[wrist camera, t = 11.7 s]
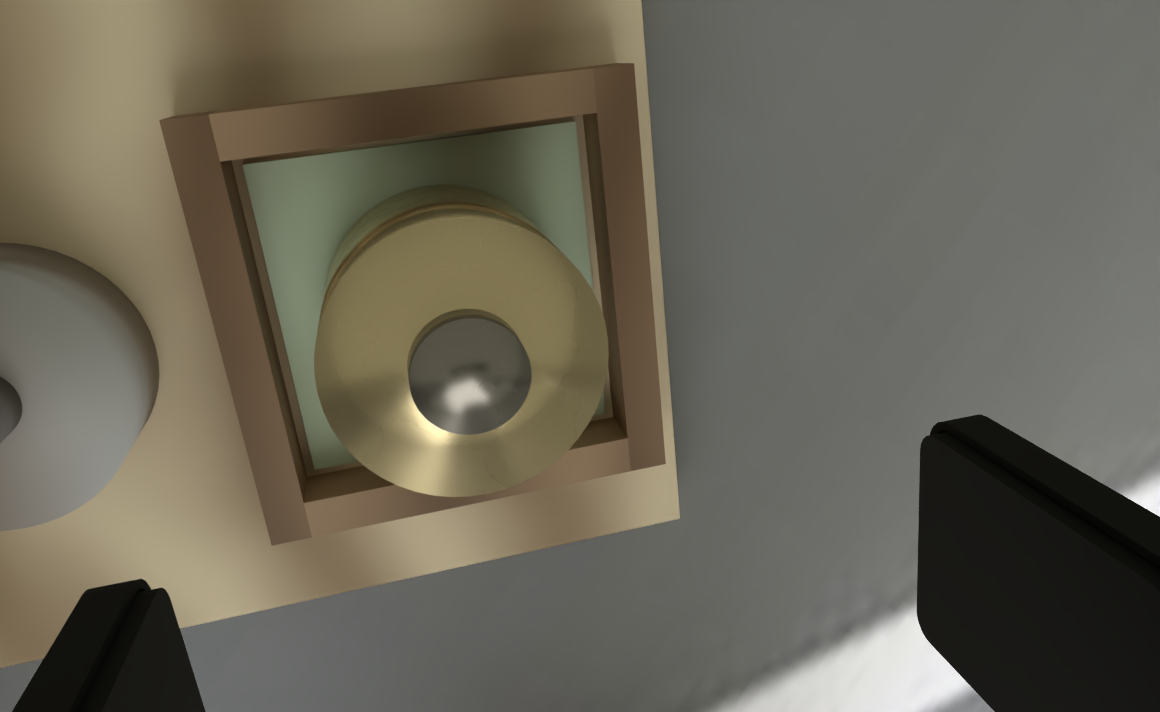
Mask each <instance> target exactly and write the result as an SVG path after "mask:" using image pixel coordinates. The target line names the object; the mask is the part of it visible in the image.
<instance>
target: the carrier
mask: <svg viewBox="0 0 1160 712" xmlns="http://www.w3.org/2000/svg"><path fill="white" fill-rule="evenodd" d="M439 184H446V185H460V186H466V187H471V188H475V189H478V190H481V191H485V192H488V193H490V194H492V195H494V196H496V197H498V198H501V199H503V200H504V201H506V202H507V203H509V204H510V205H512V206H513V207H515V208H516V209H517V210H519V211H520V212H521V213H522V214H523V215H524V216H526V217H527V218H528V219H529V220H530V221H531V222H532V223H533V224H534V225H535V226H536V227H537V228H538V229H539V230H540V231H541V232H542V233H543V234H544V235H545V236H546V237H547V238H548V239H549V240H550V241H551V242H552V243H553V244H554V245H555V246H556V247H557V248H558V249H559V250H560V251H561V252H562V253H563V254H564V255H565V256H566V257H567V258H568V259H569V260H570V261H571V262H572V263H573V264H574V265H575V267H576V268H577V269H578V270H579V271H580V272H581V273H582V275H583V276H584V278H585V279H586V281H587V282H588V284H589V285H590V287H591V288H592V290H593V292H594V294H595V297H596V299H597V301H598V303H599V305H600V308H601V311H602V314H603V317H604V320H605V325H606V331H607V336H608V351H609V359H608V369H607V376H606V381H605V385H604V390H603V393H602V396H601V398H600V401H599V404H598V406H597V409H596V411H595V413H594V414H593V416H592V418H591V420H590V422H589V424H588V425H587V427H586V428H585V430H584V431H583V433H582V434H581V436H580V437H579V438H578V439H577V441H576V442H575V443H574V444H573V445H572V446H571V447H570V449H569V450H568V451H567V452H566V453H565V454H563V455H562V456H561V457H560V458H559V459H558V460H557V461H556V462H555V463H553V464H552V465H550V466H549V467H548V468H546V469H545V470H543V471H542V472H541V473H539V474H537V475H535V476H534V477H532V478H530V479H528V480H526V481H524V482H522V483H520V484H517V485H515V486H512V487H510V488H507V489H504V490H501V491H497V492H493V493H490V494H484V495H477V496H471V497H444V496H433V495H428V494H424V493H419V492H415V491H412V490H409V489H406V488H403V487H400V486H397V485H395V484H393V483H391V482H389V481H387V480H385V479H383V478H381V477H380V476H378V475H377V474H375V473H374V472H372V471H370V470H369V469H367V468H366V467H365V466H364V465H363V464H362V463H360V462H359V461H358V460H357V459H356V458H355V457H353V456H352V454H351V453H350V452H349V451H348V450H347V449H346V448H345V447H344V445H343V444H342V443H341V442H340V440H339V439H338V437H337V436H336V434H335V433H334V431H333V430H332V428H331V427H330V425H329V423H328V421H327V418H326V416H325V414H324V412H323V410H322V407H321V403H320V400H319V397H318V394H317V388H316V382H315V376H314V351H315V344H316V336H317V330H318V325H319V319H320V313H321V308H322V302H323V296H324V291H325V285H326V279H327V275H328V271H329V268H330V264H331V261H332V259H333V256H334V254H335V252H336V250H337V247H338V246H339V244H340V243H341V241H342V239H343V238H344V236H345V234H346V233H347V232H348V231H349V229H350V228H351V227H352V226H353V225H354V223H355V222H356V221H357V220H358V219H359V218H360V217H362V216H363V215H364V214H365V213H366V212H367V211H368V210H370V209H371V208H373V207H374V206H375V205H377V204H378V203H380V202H381V201H383V200H385V199H387V198H389V197H391V196H393V195H395V194H398V193H400V192H403V191H406V190H409V189H412V188H417V187H422V186H427V185H439ZM676 519H680V513H679V499H678V486H677V473H676V459H675V446H674V432H673V419H672V405H671V392H670V379H669V365H668V352H667V338H666V325H665V312H664V298H663V285H662V271H661V258H660V245H659V231H658V218H657V204H656V191H655V178H654V164H653V151H652V137H651V124H650V111H649V97H648V84H647V70H646V57H645V44H644V30H643V17H642V3H641V0H0V668H3V667H7V666H12V665H17V664H21V663H26V662H30V661H35V660H39V659H44V658H45V656H46V654H47V653H48V651H49V649H50V648H51V646H52V644H53V643H54V641H55V639H56V638H57V636H58V634H59V633H60V631H61V629H62V627H63V626H64V624H65V622H66V621H67V619H68V617H69V616H70V614H71V612H72V611H73V609H74V607H75V606H76V604H77V602H78V601H79V599H80V597H81V596H82V594H83V593H84V592H85V591H86V590H87V589H91V588H96V587H101V586H106V585H111V584H116V583H122V582H127V581H132V580H137V579H143V580H145V581H146V582H147V583H148V585H149V586H150V588H151V590H152V589H157V588H164V589H165V590H166V591H167V593H168V594H169V597H170V599H171V602H172V606H173V609H174V612H175V615H176V619H177V622H178V625H179V628H185V627H189V626H194V625H198V624H203V623H207V622H212V621H217V620H221V619H226V618H230V617H235V616H239V615H244V614H248V613H253V612H257V611H262V610H267V609H271V608H276V607H280V606H285V605H289V604H294V603H298V602H303V601H307V600H312V599H317V598H321V597H326V596H330V595H335V594H339V593H344V592H348V591H353V590H357V589H362V588H367V587H371V586H376V585H380V584H385V583H389V582H394V581H398V580H403V579H407V578H412V577H417V576H421V575H426V574H430V573H435V572H439V571H444V570H448V569H453V568H457V567H462V566H467V565H471V564H476V563H480V562H485V561H489V560H494V559H498V558H503V557H507V556H512V555H517V554H521V553H526V552H530V551H535V550H539V549H544V548H548V547H553V546H557V545H562V544H567V543H571V542H576V541H580V540H585V539H589V538H594V537H598V536H603V535H607V534H612V533H617V532H621V531H626V530H630V529H635V528H639V527H644V526H648V525H653V524H657V523H662V522H667V521H671V520H676Z"/></svg>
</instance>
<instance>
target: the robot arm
mask: <svg viewBox="0 0 1160 712" xmlns="http://www.w3.org/2000/svg"><path fill="white" fill-rule="evenodd" d="M917 617H918V621H919V624H920V627H921V630H922V632H923V634H924V635H925V637H926V638H927V640H928V641H929V642H930V643H931V644H932V646H933V647H934V648H935V649H936V650H937V651H938V652H939V653H940V654H941V655H942V656H943V657H944V658H945V659H946V660H947V661H948V663H949V664H950V665H951V666H952V667H953V668H954V669H955V670H956V671H957V672H958V673H959V674H960V675H961V676H962V677H963V678H964V679H965V681H966V682H967V683H968V684H969V685H970V686H971V687H972V688H973V689H974V690H975V691H976V692H977V693H978V694H979V695H980V696H981V698H982V699H983V700H984V701H985V702H986V703H987V704H988V705H989V706H990V707H991V708H992V709H993V710H994V711H995V712H1160V517H1159V516H1157V515H1155V514H1154V513H1152V512H1150V511H1149V510H1147V509H1145V508H1143V507H1142V506H1140V505H1138V504H1136V503H1135V502H1133V501H1131V500H1130V499H1128V498H1126V497H1124V496H1123V495H1121V494H1119V493H1117V492H1116V491H1114V490H1112V489H1111V488H1109V487H1107V486H1105V485H1104V484H1102V483H1100V482H1098V481H1097V480H1095V479H1093V478H1092V477H1090V476H1088V475H1086V474H1085V473H1083V472H1081V471H1079V470H1078V469H1076V468H1074V467H1073V466H1071V465H1069V464H1067V463H1066V462H1064V461H1062V460H1060V459H1059V458H1057V457H1055V456H1054V455H1052V454H1050V453H1048V452H1047V451H1045V450H1043V449H1041V448H1040V447H1038V446H1036V445H1035V444H1033V443H1031V442H1029V441H1028V440H1026V439H1024V438H1022V437H1021V436H1019V435H1017V434H1016V433H1014V432H1012V431H1010V430H1009V429H1007V428H1005V427H1003V426H1002V425H1000V424H998V423H997V422H995V421H993V420H991V419H990V418H988V417H986V416H983V415H974V416H969V417H964V418H959V419H954V420H949V421H944V422H939V423H937V424H936V425H934V426H933V428H932V431H931V433H930V436H926V437H925V438H924V439H923V441H922V443H921V449H920V488H919V534H918V581H917ZM12 712H205V709H204V706H203V702H202V699H201V696H200V693H199V689H198V686H197V683H196V680H195V677H194V673H193V670H192V667H191V664H190V660H189V657H188V654H187V651H186V648H185V644H184V641H183V638H182V635H181V631H180V628H179V625H178V622H177V619H176V615H175V612H174V609H173V606H172V602H171V599H170V597H169V594H168V593H167V591H166V590H165V589H164V588H157V589H152V590H151V588H150V586H149V585H148V583H147V582H146V581H145V580H143V579H137V580H132V581H127V582H122V583H116V584H111V585H106V586H101V587H96V588H91V589H87V590H86V591H85V592H84V593H83V594H82V596H81V597H80V599H79V601H78V602H77V604H76V606H75V607H74V609H73V611H72V612H71V614H70V616H69V617H68V619H67V621H66V622H65V624H64V626H63V627H62V629H61V631H60V633H59V634H58V636H57V638H56V639H55V641H54V643H53V644H52V646H51V648H50V649H49V651H48V653H47V654H46V656H45V658H44V659H43V661H42V663H41V664H40V666H39V668H38V669H37V671H36V673H35V674H34V676H33V678H32V679H31V681H30V683H29V684H28V686H27V688H26V689H25V691H24V693H23V694H22V696H21V698H20V699H19V701H18V703H17V704H16V706H15V708H14V709H13V711H12Z"/></svg>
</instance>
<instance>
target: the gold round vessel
mask: <svg viewBox="0 0 1160 712" xmlns="http://www.w3.org/2000/svg"><path fill="white" fill-rule="evenodd" d="M608 359H609V351H608V336H607V331H606V325H605V320H604V317H603V314H602V311H601V308H600V305H599V303H598V301H597V299H596V297H595V294H594V292H593V290H592V288H591V287H590V285H589V284H588V282H587V281H586V279H585V278H584V276H583V275H582V273H581V272H580V271H579V270H578V269H577V268H576V267H575V265H574V264H573V263H572V262H571V261H570V260H569V259H568V258H567V257H566V256H565V255H564V254H563V253H562V252H561V251H560V250H559V249H558V248H557V247H556V246H555V245H554V244H553V243H552V242H551V241H550V240H549V239H548V238H547V237H546V236H545V235H544V234H543V233H542V232H541V231H540V230H539V229H538V228H537V227H536V226H535V225H534V224H533V223H532V222H531V221H530V220H529V219H528V218H527V217H526V216H524V215H523V214H522V213H521V212H520V211H519V210H517V209H516V208H515V207H513V206H512V205H510V204H509V203H507V202H506V201H504V200H503V199H501V198H498V197H496V196H494V195H492V194H490V193H488V192H485V191H481V190H478V189H475V188H471V187H466V186H460V185H446V184H439V185H427V186H422V187H417V188H412V189H409V190H406V191H403V192H400V193H398V194H395V195H393V196H391V197H389V198H387V199H385V200H383V201H381V202H380V203H378V204H377V205H375V206H374V207H373V208H371V209H370V210H368V211H367V212H366V213H365V214H364V215H363V216H362V217H360V218H359V219H358V220H357V221H356V222H355V223H354V225H353V226H352V227H351V228H350V229H349V231H348V232H347V233H346V234H345V236H344V238H343V239H342V241H341V243H340V244H339V246H338V247H337V250H336V252H335V254H334V256H333V259H332V261H331V264H330V268H329V271H328V275H327V279H326V285H325V291H324V296H323V302H322V308H321V313H320V319H319V325H318V330H317V336H316V344H315V351H314V376H315V382H316V388H317V394H318V397H319V400H320V403H321V407H322V410H323V412H324V414H325V416H326V418H327V421H328V423H329V425H330V427H331V428H332V430H333V431H334V433H335V434H336V436H337V437H338V439H339V440H340V442H341V443H342V444H343V445H344V447H345V448H346V449H347V450H348V451H349V452H350V453H351V454H352V456H353V457H355V458H356V459H357V460H358V461H359V462H360V463H362V464H363V465H364V466H365V467H366V468H367V469H369V470H370V471H372V472H374V473H375V474H377V475H378V476H380V477H381V478H383V479H385V480H387V481H389V482H391V483H393V484H395V485H397V486H400V487H403V488H406V489H409V490H412V491H415V492H419V493H424V494H428V495H433V496H444V497H471V496H477V495H484V494H490V493H493V492H497V491H501V490H504V489H507V488H510V487H512V486H515V485H517V484H520V483H522V482H524V481H526V480H528V479H530V478H532V477H534V476H535V475H537V474H539V473H541V472H542V471H543V470H545V469H546V468H548V467H549V466H550V465H552V464H553V463H555V462H556V461H557V460H558V459H559V458H560V457H561V456H562V455H563V454H565V453H566V452H567V451H568V450H569V449H570V447H571V446H572V445H573V444H574V443H575V442H576V441H577V439H578V438H579V437H580V436H581V434H582V433H583V431H584V430H585V428H586V427H587V425H588V424H589V422H590V420H591V418H592V416H593V414H594V413H595V411H596V409H597V406H598V404H599V401H600V398H601V396H602V393H603V390H604V385H605V381H606V376H607V369H608Z"/></svg>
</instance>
